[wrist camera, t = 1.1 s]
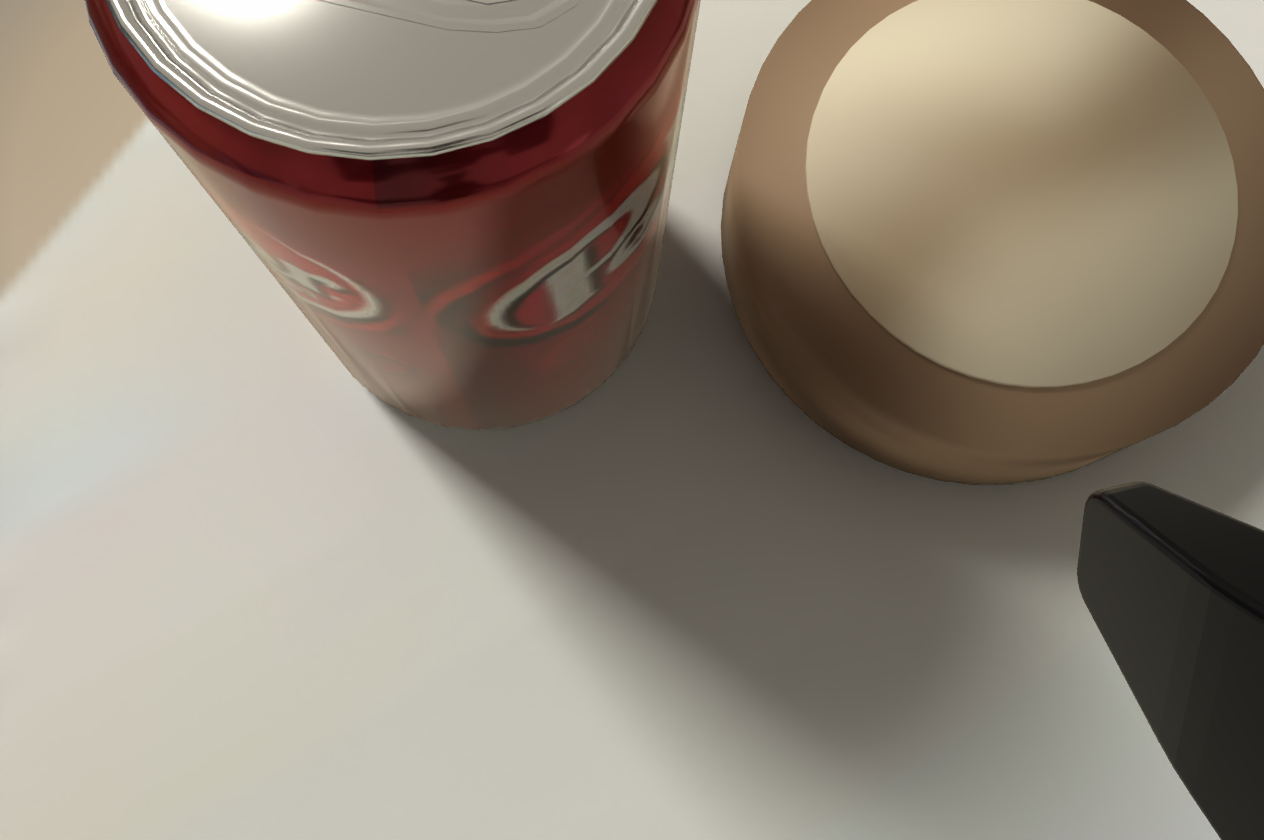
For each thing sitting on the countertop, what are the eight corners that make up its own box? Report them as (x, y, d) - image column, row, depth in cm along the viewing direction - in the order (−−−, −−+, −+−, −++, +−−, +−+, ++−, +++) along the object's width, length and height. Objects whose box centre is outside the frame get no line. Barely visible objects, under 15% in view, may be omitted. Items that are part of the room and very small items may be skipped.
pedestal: (1308, 215, 25) (1409, 150, 22) (1027, 593, 23) (1095, 579, 20) (918, -68, 26) (961, -168, 23) (617, 262, 24) (621, 202, 21)
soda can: (656, 123, 25) (710, -371, 13) (655, 439, 23) (718, 194, 12) (329, 116, 25) (91, -394, 13) (305, 434, 23) (7, 180, 11)
